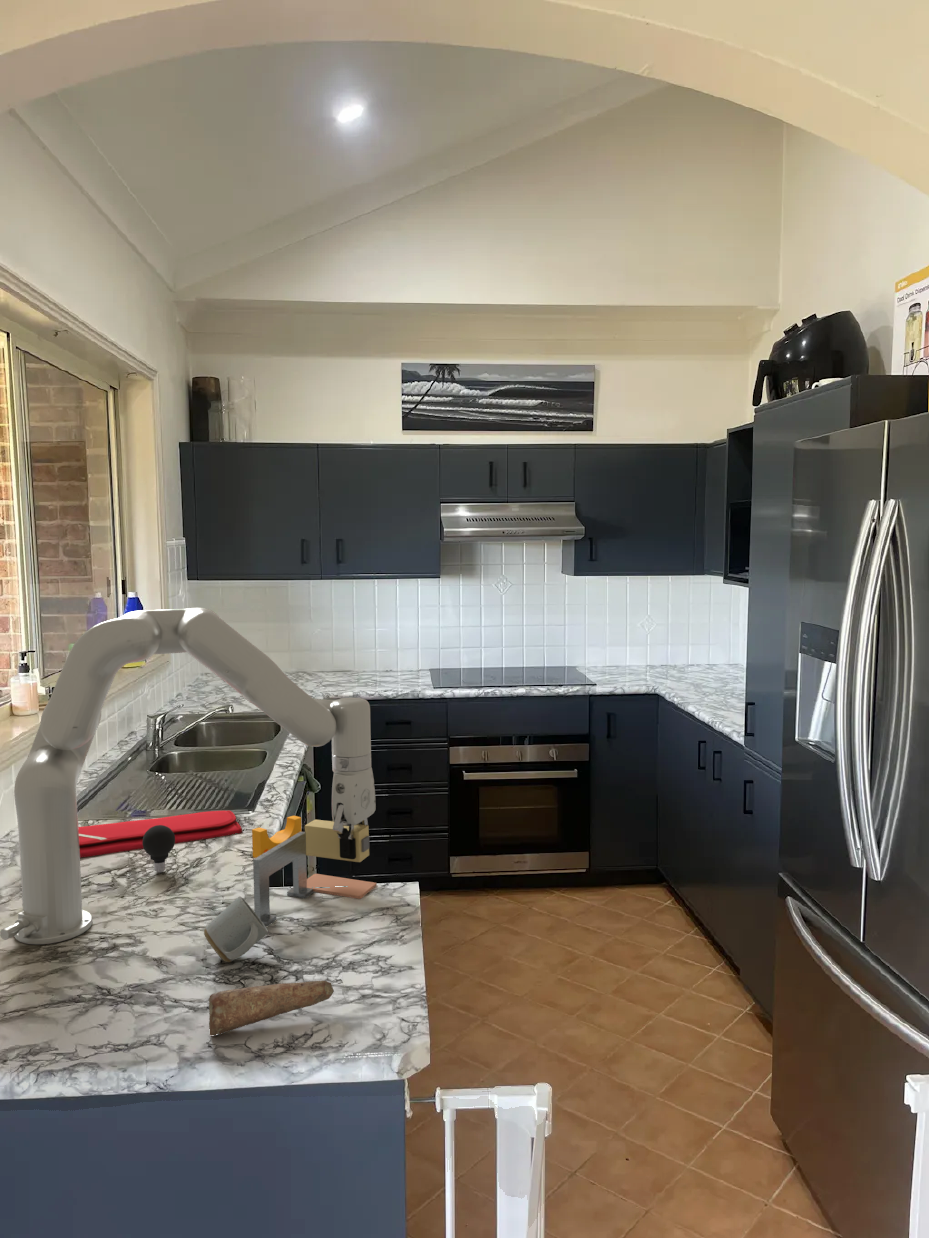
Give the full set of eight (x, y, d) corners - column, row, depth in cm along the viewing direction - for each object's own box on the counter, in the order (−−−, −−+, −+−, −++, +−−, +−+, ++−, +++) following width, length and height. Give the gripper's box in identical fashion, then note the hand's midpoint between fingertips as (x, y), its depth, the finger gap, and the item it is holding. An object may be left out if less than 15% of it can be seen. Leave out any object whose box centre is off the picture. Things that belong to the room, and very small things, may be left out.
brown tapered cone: (203, 1025, 127) (202, 984, 126) (325, 997, 135) (325, 958, 134) (211, 1048, 121) (210, 1005, 121) (338, 1017, 129) (338, 977, 128)
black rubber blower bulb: (165, 864, 189) (163, 818, 188) (182, 872, 184) (180, 825, 184) (137, 873, 184) (135, 826, 183) (154, 881, 180) (152, 833, 179)
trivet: (360, 899, 171) (360, 896, 170) (296, 889, 175) (296, 886, 175) (376, 885, 177) (376, 882, 177) (314, 876, 182) (314, 873, 182)
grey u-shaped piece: (267, 926, 159) (265, 861, 158) (248, 923, 160) (246, 858, 159) (313, 892, 174) (312, 833, 172) (295, 890, 175) (294, 830, 174)
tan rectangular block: (362, 862, 171) (361, 832, 171) (305, 855, 176) (304, 825, 175) (371, 855, 175) (370, 825, 175) (315, 848, 180) (314, 819, 179)
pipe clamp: (288, 841, 203) (288, 813, 203) (301, 845, 201) (301, 817, 200) (247, 856, 194) (246, 828, 193) (260, 861, 191) (260, 831, 190)
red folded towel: (243, 836, 208) (242, 820, 208) (49, 865, 190) (48, 848, 189) (229, 817, 222) (228, 802, 222) (47, 842, 204) (47, 827, 203)
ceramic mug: (227, 963, 148) (201, 925, 149) (269, 930, 151) (242, 893, 152) (225, 970, 138) (196, 929, 139) (269, 935, 141) (240, 895, 142)
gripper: (348, 774, 163) (350, 871, 165) (388, 753, 179) (389, 841, 181) (312, 771, 166) (315, 866, 168) (354, 750, 182) (356, 837, 183)
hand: (353, 852), depth 174 cm, fingers closed on tan rectangular block, 4 cm apart
